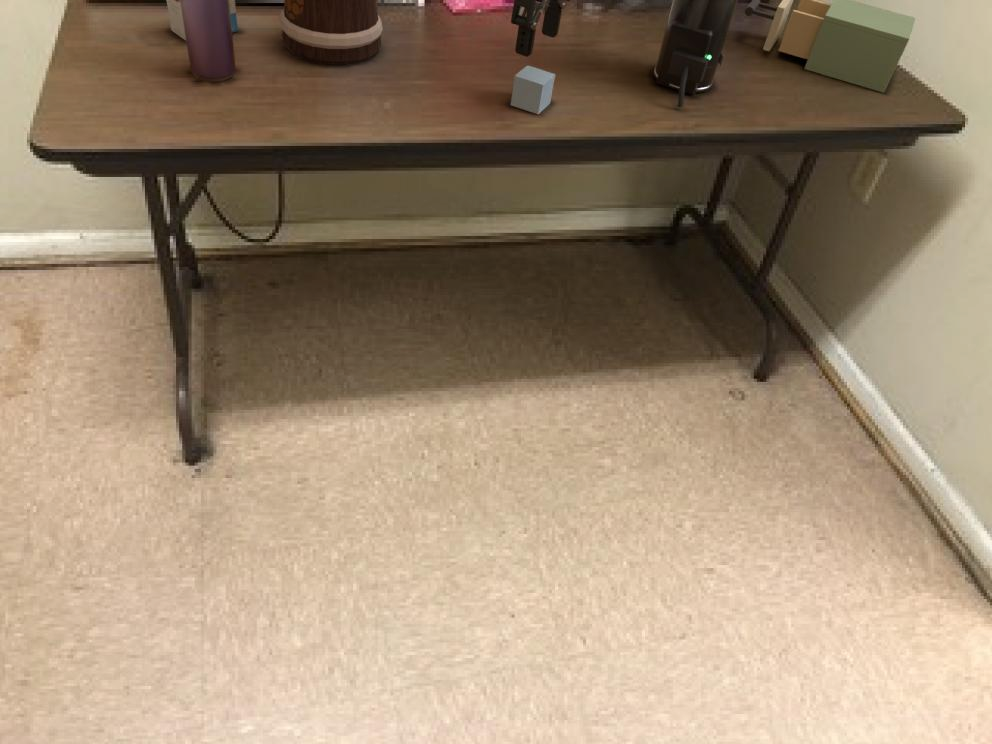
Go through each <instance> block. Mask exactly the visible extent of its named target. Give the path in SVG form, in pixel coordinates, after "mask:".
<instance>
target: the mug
mask: <svg viewBox="0 0 992 744" xmlns="http://www.w3.org/2000/svg"><path fill="white" fill-rule="evenodd" d="M378 11H379V10H378V2H377V0H284V1H283V10H282V11H281V12H280V15H279V25H280V28H281V39H282V43H283V45H284V46H285V47H286V48H287V49H288V50H289V51H290V52H291V53H292V54H294V55H295V56H298V57H300V58H302V59H304V60H307V61H311V62H314V63H318V64H319V63H320V64H326V65H349V64H357V63H360V62H363V61H366V60H368V59H370V58H372V57H373V56H374V55H375V54H376V53H378V52H379V50H380V48H381V46H382V38H381V37H382V36H381V34H382V32H383V30H384V28H383V23H382V19H381V17H380V16H379V12H378Z"/></svg>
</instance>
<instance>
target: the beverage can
mask: <svg viewBox="0 0 992 744" xmlns="http://www.w3.org/2000/svg"><path fill="white" fill-rule="evenodd" d="M180 1H181V8H182V15H183V22H184V29H185V36H186V41H185V42H186V48H187V56H188V62H189V63H188V64H189V69H190V72H191V73H192V74H193V76H194V77H195V78H197V79H199V80H201V81H205V82H211V83H212V82H217V83H218V82H223V81H226V80H230V79H231V78H232V77H233V76H234V74H235V73H236V70H237V67H236V59H235V58H236V56H235V47H234V39H233V37H234V36H233V33H232V27H231V17H230V8H229V0H180Z"/></svg>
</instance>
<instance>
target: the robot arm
mask: <svg viewBox="0 0 992 744" xmlns="http://www.w3.org/2000/svg"><path fill="white" fill-rule="evenodd" d="M570 1H571V0H513V6H512V11H511V18H510V23H511V24H512V25H516V26H518V27H517V35H516V41H515V48H514V52H515V53H516V54H517V55H519V56H523V57H526V58H528V57H530V56H531V55H532V54H533V50H534V45H535V44H534V43H535V38H536V31H537V26H538V23H539V20H540V18H541V16H542V15H543V21H542V26H541V34H543V36H547V37H550V38H555V37H557V36H558V34H559V29H560V23H561V18H562V12H563V10H564V9H565V8H566V6H567V2H570ZM738 2H739V0H672V4H671V7H670V12H669V15H668V18H667V23H666V27H665V30H664V35H663V36H662V37H663V38H662V42H661V45H660V46H661V47H660V50H659V52H658V53H659V54H658V57H657V60H656V64H655V67H654V70H653V77H654V79H656V81H655V82H656V84H657V85H659V86H663V87H665V88H669V89H672V90H675V91H678V97H677V107H678V108H683V107H684V103H685V94H687V95H692V96H694V95H695V94H696V93H697V94H698V93H703V92H707V91H709V90H710V89H711V88H712V86H713V83H714V78H715V75H716V72H717V68H718V65H719V66H720V67H722V64H723V59H724V56H723V54H722V52H723V49H724V47H725V43H726V40H727V37H728V34H729V30H730V28H731V23H732V20H733V17H734V15H735V12H736V8H737V5H738Z"/></svg>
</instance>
